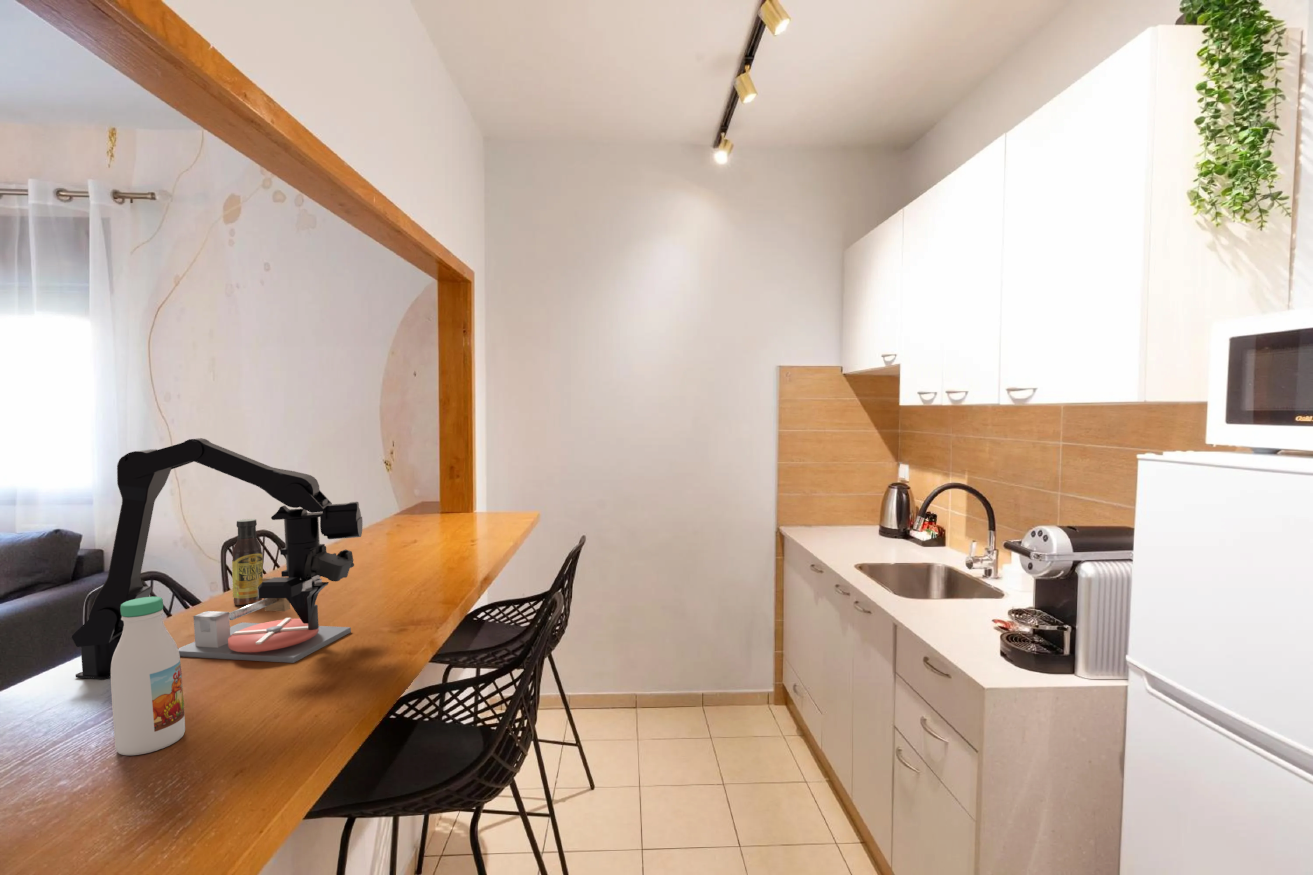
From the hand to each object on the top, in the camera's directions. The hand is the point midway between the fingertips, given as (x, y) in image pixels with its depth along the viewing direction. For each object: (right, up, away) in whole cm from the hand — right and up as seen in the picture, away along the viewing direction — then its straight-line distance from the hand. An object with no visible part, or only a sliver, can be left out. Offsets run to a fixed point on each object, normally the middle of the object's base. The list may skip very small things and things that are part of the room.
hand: (306, 623), depth 125 cm
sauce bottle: (-31, -5, +33) cm, 46 cm away
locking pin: (-17, -2, +12) cm, 21 cm away
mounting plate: (-10, -5, +4) cm, 12 cm away
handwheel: (-7, -3, +1) cm, 7 cm away
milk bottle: (-4, -7, -34) cm, 35 cm away
